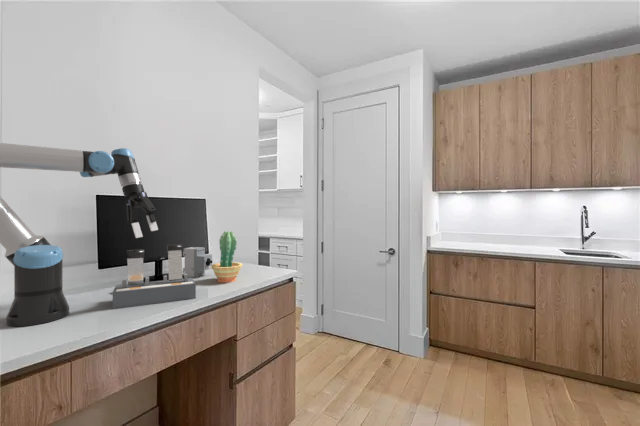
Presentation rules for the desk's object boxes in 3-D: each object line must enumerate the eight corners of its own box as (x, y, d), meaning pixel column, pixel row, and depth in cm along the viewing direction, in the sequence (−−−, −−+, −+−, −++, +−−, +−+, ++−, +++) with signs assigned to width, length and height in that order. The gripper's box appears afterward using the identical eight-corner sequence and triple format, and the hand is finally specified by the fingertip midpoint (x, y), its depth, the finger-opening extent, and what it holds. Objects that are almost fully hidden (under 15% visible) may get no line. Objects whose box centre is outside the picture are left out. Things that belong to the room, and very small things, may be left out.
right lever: (168, 279, 122) (167, 244, 128) (167, 281, 125) (167, 246, 130) (183, 278, 125) (182, 243, 131) (182, 280, 128) (181, 245, 133)
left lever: (127, 287, 116) (126, 253, 110) (127, 282, 118) (126, 248, 112) (144, 285, 118) (143, 252, 113) (144, 280, 121) (144, 247, 115)
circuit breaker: (207, 277, 160) (207, 249, 160) (183, 276, 163) (183, 248, 163) (214, 274, 167) (214, 247, 167) (191, 273, 170) (191, 247, 170)
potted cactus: (247, 278, 160) (248, 230, 160) (232, 285, 145) (232, 232, 145) (221, 276, 164) (222, 230, 164) (204, 282, 149) (204, 232, 149)
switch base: (112, 308, 110) (112, 284, 110) (116, 300, 120) (116, 277, 120) (195, 298, 123) (195, 276, 123) (192, 291, 134) (192, 270, 134)
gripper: (155, 175, 123) (170, 225, 123) (128, 193, 137) (142, 238, 137) (136, 176, 117) (152, 229, 117) (110, 195, 131) (124, 242, 131)
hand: (146, 234), depth 127 cm, fingers open, 13 cm apart
